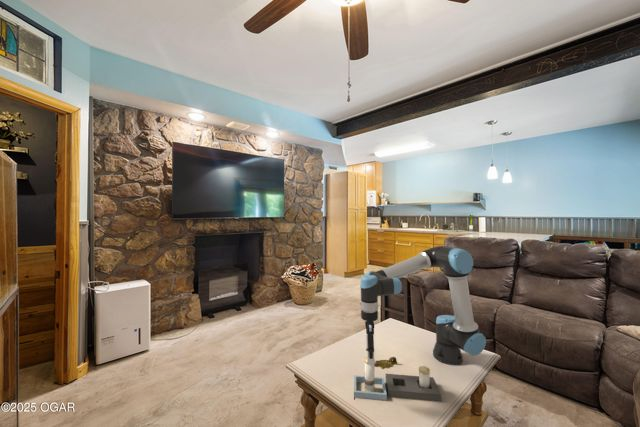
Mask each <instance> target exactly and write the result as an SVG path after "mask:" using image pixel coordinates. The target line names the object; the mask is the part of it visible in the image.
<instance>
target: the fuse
mask: <svg viewBox="0 0 640 427" xmlns="http://www.w3.org/2000/svg"><path fill="white" fill-rule="evenodd" d="M430 373H431V369H430V368H429V367H427V366H426V365H420V366H418V376H419V388H427V389H430V377H431V376H430Z"/></svg>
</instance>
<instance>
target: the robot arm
mask: <svg viewBox="0 0 640 427" xmlns="http://www.w3.org/2000/svg"><path fill="white" fill-rule="evenodd" d="M473 267H474V259H473V257H472V255H471V253H470V252H468V251H467V250H465V249H461V248H460V247H453V246H452V247H451V246H445V245H438V246H434V247H430V248H427V249H424V250H422V251H420V252H418V254H417V255H415V256H412V257H410V258H408V259H407V258H406V259H405V260H402V261H400V262H397V263H394V264H392V265H390V266H387V267H385V268H382V269H379V270H377V271H374V270H373V271H372V270H371V271H367V272H366V273H365V275H362V276H361V277H360V302H359V305H360V316H361V317H360V318H361V319H362V320H363V321H365V322H364V323H365V331H366V332H365V333H366V349H365V351H366V352H367V357H368V365H372V366H374V359H375V342H374V341H375V340H374V336H375V322H376V321H378V318H379V301H378V300H379V298H378V297H383V296H394V295H398V294H401V292H402V291H403V289H402V288H403V286H402V285H403V284H402V281H401V280H400V279H401V278H403V277H406V276H409V275H411V274H413V273H415V272H419V271H420V270H423V269H431V268H440V269H443V274H444V277H446V278H447V280H448V284H449V292H450V298H451V303H452V308H453V310H452V311H453V315H450V314H442V315H438V316H437V317H436V320H435V321H436V322H435V336H436V338H435V340H436V341H435V344H434V347H433V348H432V349H433V350H432V355H433V358H434V359H435V360H437V361H438V362H441V363H443V364H446V365H449V366H450V365H452V366H455V365H457V366H459V365H461V364H462V363H463V361H464V357H463V354H462V351H463V352H465V353H467V354H469V355H471V356H477V355H480V354H481V353H482V352H483V351H484V350H485V348H486V344H487V339H486V336H485V334H483V333H481V332H480V329H479V325H478V323H477V322H475V320H474V319H475V318H474V314H473V313H474V312H473V306H472V301H471V296H470V289H469V282H468V277H469V276H470V274H471V271H473ZM461 350H462V351H461Z"/></svg>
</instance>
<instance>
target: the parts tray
mask: <svg viewBox="0 0 640 427" xmlns="http://www.w3.org/2000/svg"><path fill="white" fill-rule="evenodd" d="M353 377H354V378H353V400H354V401H355V400H356V399H367V400H377V401H387V399H388V397H387V396H388V392H387V386H386V380H385V378H384V377H378V376H374V378H375V384H379V385H381V387H382V392H377V391H374V392H367V391H365V390H357V383H364V384H365V375H353ZM375 384H374V385H375Z"/></svg>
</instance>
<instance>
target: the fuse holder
mask: <svg viewBox="0 0 640 427" xmlns="http://www.w3.org/2000/svg"><path fill="white" fill-rule="evenodd" d="M385 386H386V392H387V396H388V397H387V398H398V399H408V400H418V401H428V402H429V401H431V402H438V403H441V402H442V392H441V391H440V389H439V387H438V385H437V383H436V380H435V379H434V376H433V377H431V376H430V389H427V388H419V375H408V374H407V375H406V374H396V373H395V374H394V373H385Z"/></svg>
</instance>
